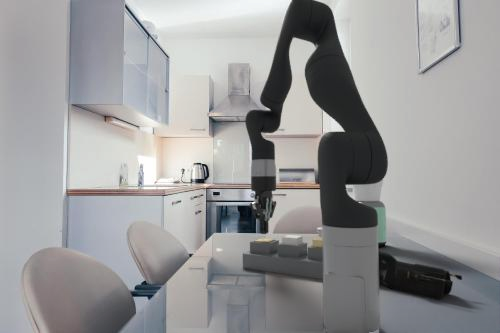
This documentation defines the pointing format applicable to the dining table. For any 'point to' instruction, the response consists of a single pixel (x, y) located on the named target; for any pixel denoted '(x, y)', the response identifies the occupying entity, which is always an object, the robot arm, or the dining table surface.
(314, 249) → the console
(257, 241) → the gold square block
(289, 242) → the white square block
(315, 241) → the brass metal cube
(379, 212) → the juicer
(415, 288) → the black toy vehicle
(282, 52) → the robot arm
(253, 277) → the dining table surface
